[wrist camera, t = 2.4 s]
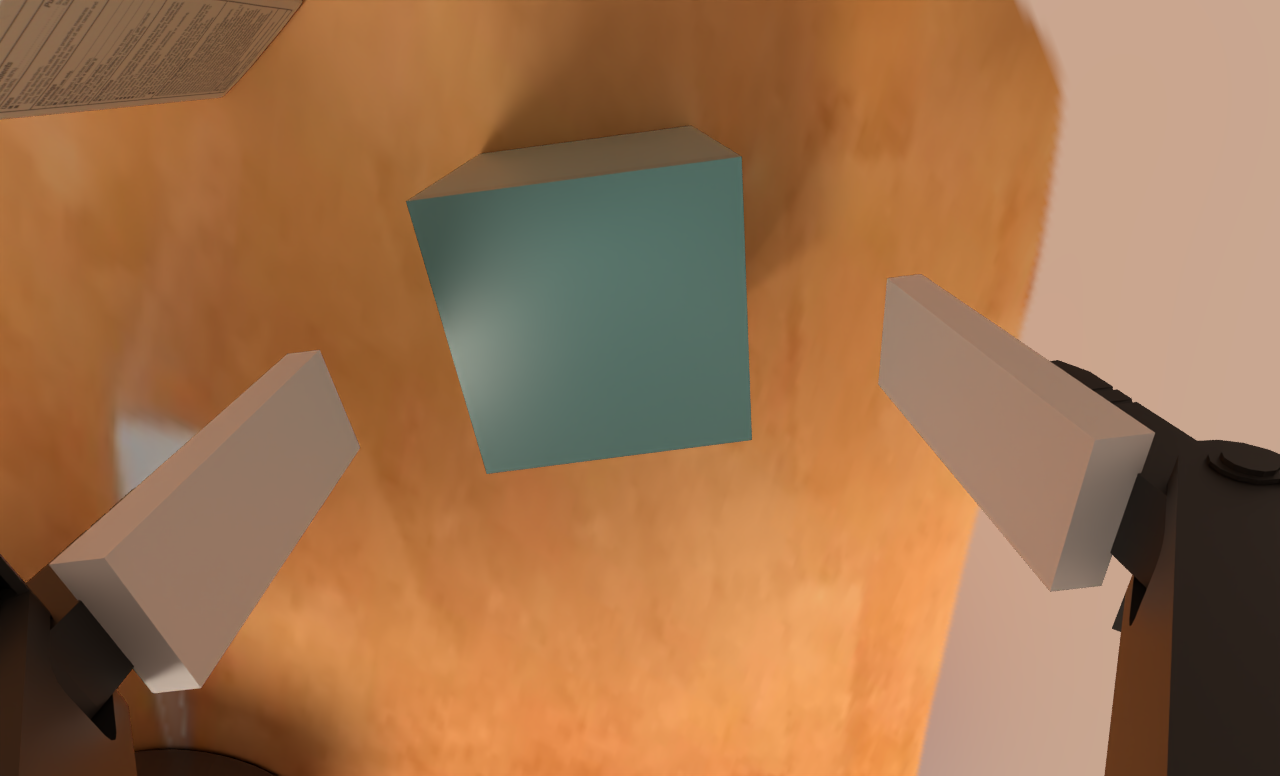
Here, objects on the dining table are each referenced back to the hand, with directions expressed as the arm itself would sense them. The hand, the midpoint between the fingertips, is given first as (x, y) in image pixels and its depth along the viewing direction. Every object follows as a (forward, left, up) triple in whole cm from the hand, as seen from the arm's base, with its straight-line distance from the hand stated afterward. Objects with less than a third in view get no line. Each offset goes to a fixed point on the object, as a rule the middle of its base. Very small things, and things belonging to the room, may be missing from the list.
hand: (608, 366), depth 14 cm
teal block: (0, 0, -12) cm, 12 cm away
